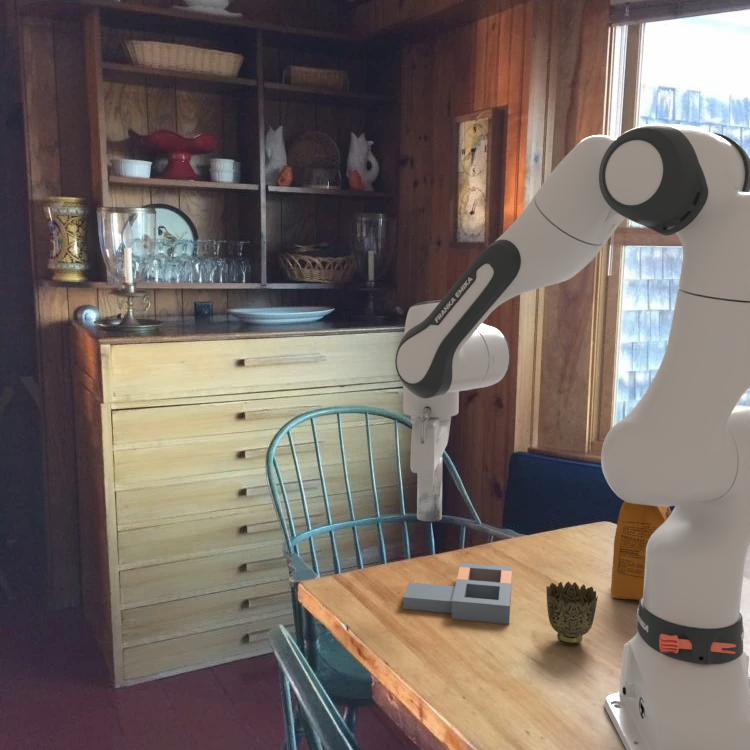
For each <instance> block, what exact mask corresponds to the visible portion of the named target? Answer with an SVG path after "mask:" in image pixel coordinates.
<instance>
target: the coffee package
mask: <svg viewBox="0 0 750 750" xmlns="http://www.w3.org/2000/svg"><path fill="white" fill-rule="evenodd" d="M671 513H672V510H671V508H670V507H660V506H648V505H640V504H633V503H628V502H626V501H624V500H623V503H622V505H621V507H620V510H619V513H618V518H617V525H616V530H615V534H614V540H613V555H612V556H613V557H612V558H613V559H612V570H611V579H610V580H611V581H610V582H611V584H610V594H611V597H613V598H614V599H617V600H620V599H623V600H636V601H638V602H639V601H640V599H641V598H642V597H643V589H644V573H645V557H646V546H647V543H648V541H649V539H650V537H651V535H652V534H653V533H654V532H655V531H656V529H658V528H659V527H660V526H661V525H662V524H663V523H664V522H665V521H666V520H667V519H668V517H669V516H670V514H671Z"/></svg>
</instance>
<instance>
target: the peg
mask: <svg viewBox="0 0 750 750" xmlns="http://www.w3.org/2000/svg"><path fill="white" fill-rule="evenodd" d="M443 459H444V458H443V455H442V456H441V459H440V461H439V463H438V465H437V467H436V469H435V471H434V489H433V491H432V492H431V493H424V492H422V481H421V476H420V473H416V475H417V476H416V477H417V480H416V481H417V484H416V485H417V486H416V487H417V491H416V492H417V494H416V519H417V520H419V521H421V522H422V521H423V522H437V521H440V520H442V515H443V514H442V513H443Z"/></svg>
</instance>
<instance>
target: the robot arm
mask: <svg viewBox="0 0 750 750" xmlns="http://www.w3.org/2000/svg"><path fill="white" fill-rule="evenodd" d="M625 219H628V220H630V221H631V222H634V223H636V224H638V225H641V226H642V227H646V228H648V229H650V230H652V231H654V232H655V233H658V234H660V235H662V236H671V235H674V234H675V235H676V236H677V237H678V239H679V241H680V243H681V246H682V261H681V262H682V263H681V270H680V275H679V281H678V288H677V294H676V299H675V305H674V311H673V316H672V321H671V327H670V331H669V335H668V336H669V337H668V340H667V345H666V348H665V352H664V355H663V358H662V360H661V362H660V365H659V367H658V369H657V371H656V373H655V376H654V377H653V379H652V381H651V383H650V385H649V386H648V388H647V390H646V391H645V393H644V394H643V395H642V396H641V398H640V399H639V401H638V403H637V404H636V405H635V406H634V407H633V408H632V410H631V411H629V413H627V415H626V416H625V417H623V418H622V419H621V420H620V421H619V422H617V423H616V424H615V425H613V426H612V427H611V428H610V429H609V430H608V432H607V433H606V436H605V437H604V440H603V444H602V447H601V452H600V454H601V455H600V463H601V470H602V473H603V476H604V478H605V481H606V483H607V484H608V486H609V487H610V489H611V490H612V491H613V493H614V494H615V495H616V496H617V497H618V498H619V499H621V500H622V501H623V502H624V501H626V502H628V503H633V504H640V505H648V506H660V507H669V508H670V507H674V508H673V510H671V514H670V516H669V517H668V519H667V520H666V521H665V522H664V523H663V524H662V525H661V526H660V527H659V528H658V529H656V531H655V532H654V533H653V534H652V535H651V537H650V539H649V541H648V543H647V546H646V557H645V573H644V589H643V597H642V598H641V599H640V601H639V600H638V608H637V613H636V618H637V625H636V626H637V633H636V634H635V635H634V636H633V637H632V638H630V640H628V641H627V642H626V643H625V644H624V645H623V648H622V649H623V651H622V657H621V658H622V659H621V660H622V661H621V670H620V680H619V690H618V692H614V693H611V694H609V695H606V697H605V698H604V699H605V700H604V705H603V707H604V709H605V710H606V712H607V714H608V716H609V718H610V720H611V723H612V724H613V727H614V728H615V730H616V732H617V734H618V736H619V739H621V742H622V744H623V746H624V747H625V750H750V676H749V666H750V665H749V664H750V663H749V662H750V656H749V655H748V654H747V653H746V652H745V651H744V638H745V628H744V621H743V615H742V613H741V600H742V590H743V582H744V574H745V566H746V560H747V555H748V552H749V548H750V406H748V405H740V404H738V402H739V401H740V399H741V398H742V396H743V395H744V394H745V393H746V392H747V391H748V389H749V388H750V157H749V154H748V153H747V152H746V150H745V149H744V148H743V147H742V146H741V145H740V144H739V143H738V142H737V141H735V140H734V139H732V138H730V137H729V136H727V135H724V134H720V133H718V132H717V133H716V132H710V131H707V130H704V129H702V128H699V127H696V126H691V125H681V124H665V123H649V124H648V123H647V124H644V125H640V126H637V127H634V128H631V129H629V130H627V131H625V132H624V133H622V134H621V135H619V136H618V137H617V138H615V137H613V136H609V135H603V134H597V135H596V134H595V135H591V136H590V135H589V136H588V137H585V138H583V139H582V140H580V142H578V143H577V144H576V145H575V146H574V147H573V148H572V149H571V150H570V151H569V152H568V153H567V155H565V156H564V157H563V158H562V160H561V161H560V162H559V163H558V164H557V166H555V168H553V170H552V171H551V172H550V174H549V175H548V176H547V178H545V180H544V182H543V183H542V184H541V186H540V187H539V188H538V190H537V192H536V193H535V194H534V196H533V197H532V199H531V200H530V202H529V203H528V204H527V206H526V207H525V208H524V209H523V211H522V212H521V213H520V215H519V216H518V217H517V218H516V220H514V222H513V223H512V224H511V225H510V226H509V227H508V228H507V229H506V230H505V231H504V232H503V233H502V234H501V235H500V236H499V237H498V238H497V239H495V241H494V242H492V243H491V244H490V245H488V247H486V248H485V249H484V250H483V251H482V252H481V253H480V254H479V255H478V256H477V257H476V258H475V259H474V260H473V261H472V262H471V264H469V266H468V267H467V268H466V269H465V271H464V272H463V273H462V274H461V276H459V278H458V279H457V281H456V282H454V284H453V285H452V287H451V288H450V289H449V290H448V291H447V293H446V294H445V295H444V296H443V298H442V299H437V300H436V299H435V300H427V301H422V302H417V303H415V304H413V305H412V306H410V307H409V309H408V311H407V315H406V319H405V322H404V323H405V324H404V333H403V337H402V338H401V340H400V342H399V344H398V347H397V350H396V353H395V359H394V362H395V370H396V373H397V376H398V377H399V379H400V382H402V384H403V387H402V388H403V389H402V390H403V392H402V393H403V394H402V395H403V397H402V402H403V403H402V413H404V415H406V416H410V423H411V424H412V428H411V435H410V436H411V437H410V438H411V439H410V462H409V463H410V470H411V472H412V473H414V474H417V473H420V476H421V481H422V492H424V493H431V492H432V491H433V489H434V471H435V469H436V467H437V465H438V463H439V461H440V459H441V456H442V457H443V454H444V452H445V449H446V447H447V446H448V444H449V443H448V442H449V437H450V430H451V429H450V427H451V422H452V421H451V420H452V417H454V416H457V415H458V414H459V411H460V410H459V403H460V399H459V398H460V397H459V396H460V392H463V391H471V390H475V389H481V388H487V387H490V386H494V385H497V384H499V383H500V382H501V381H502V380H503V379H504V378H505V377H506V375H507V373H508V371H509V369H510V365H511V349H510V343H509V342H508V339H507V338H506V336H505V335H504V333H503V332H502V331H501V330H500V329H499V328H498V327H496V326H492V325H488V324H486V323H484V322H485V320H486V319H487V318H488V317H489V316H490V314H491V313H492V312H494V310H495V309H498V307H499V306H500V305H502V304H503V303H505V302H507V301H509V300H510V299H513V298H515V297H517V296H520V295H522V294H524V293H528V292H531V291H534V290H537V289H542V288H544V287H549V286H552V285H556V284H560V283H563V282H566V281H568V280H571V279H572V278H573V277H575V276H577V274H579V273H580V272H581V271H582V270H583V269H584V268H586V267H587V265H588V266H589V264H590V263H591V262H592V261H593V260H594V259H595V258H596V256H597V255H598V254H599V253H600V252H601V250H602V249H603V247H604V246H605V245H606V243H607V242H608V240H609V239H610V238H611V237H612V235H613V234H614V233H615V231H616V230H617V228H619V226H620V225H621V224H622V223H623V221H624V220H625Z"/></svg>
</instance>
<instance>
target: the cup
mask: <svg viewBox="0 0 750 750" xmlns="http://www.w3.org/2000/svg"><path fill="white" fill-rule="evenodd" d="M545 590H546V605H547V606H546V607H547V616H548V617H547V618H548V621H549V624H550V626H551V628H552V629H553V630H554V631H555V632H556V633H557V634H556V636H557V637H556V638H557V640H558V642H559V643H560V644H562V645H565V646H569V647H575V646H579V645H580V644H581V643H582V642H583V638H584V637H583V636H584V635H586V634H588V632H589V631H590V630H591V628H592V626H593V623H594V620H595V615H596V609H597V605H598V598H599V596H598V595H597V591H596V590H595V591H594V588H593V586H590V587H587V588H586V585H585V584H584V583H583V584H582V585H581V587H579V585H578V584H577V582H576V581H573V583H571V582H570V581H567V582H566V583H565V584H564V585H563V582H562V581H560V582H558V585H556V584H555V583H554V582H551V583H550V584H549V586H546V589H545Z"/></svg>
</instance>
